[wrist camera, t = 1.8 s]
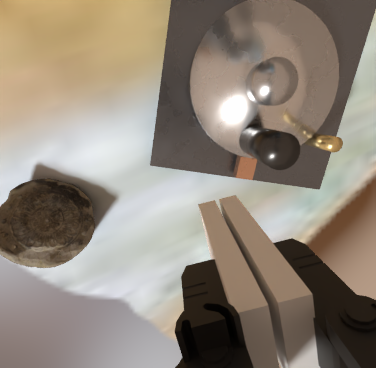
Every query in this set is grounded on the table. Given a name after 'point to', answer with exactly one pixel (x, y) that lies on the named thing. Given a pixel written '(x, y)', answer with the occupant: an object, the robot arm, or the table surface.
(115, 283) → the table surface
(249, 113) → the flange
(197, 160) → the clock base
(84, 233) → the fossil
